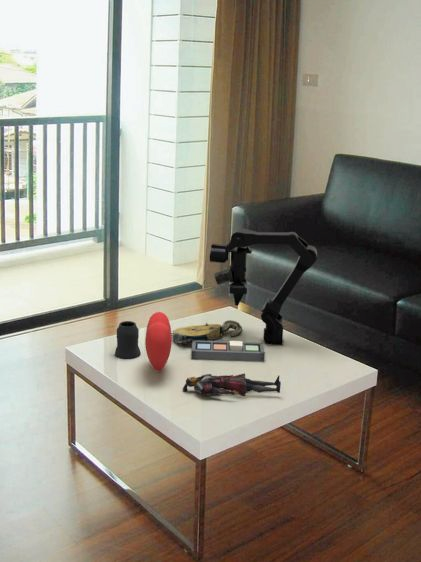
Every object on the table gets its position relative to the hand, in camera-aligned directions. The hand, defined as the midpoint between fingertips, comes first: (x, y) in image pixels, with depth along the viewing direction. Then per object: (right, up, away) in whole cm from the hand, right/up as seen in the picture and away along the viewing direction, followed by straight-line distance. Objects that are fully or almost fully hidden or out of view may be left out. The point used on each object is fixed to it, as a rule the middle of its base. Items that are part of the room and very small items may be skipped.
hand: (236, 305), depth 271 cm
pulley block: (-11, -13, +3) cm, 17 cm away
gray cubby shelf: (-4, -17, -11) cm, 21 cm away
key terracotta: (-6, -16, -12) cm, 21 cm away
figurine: (-3, -26, -40) cm, 48 cm away
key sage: (+5, -17, -12) cm, 21 cm away
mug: (-39, -16, -12) cm, 44 cm away
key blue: (-12, -16, -12) cm, 23 cm away
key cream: (-1, -15, -12) cm, 19 cm away
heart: (-27, -21, -27) cm, 43 cm away
